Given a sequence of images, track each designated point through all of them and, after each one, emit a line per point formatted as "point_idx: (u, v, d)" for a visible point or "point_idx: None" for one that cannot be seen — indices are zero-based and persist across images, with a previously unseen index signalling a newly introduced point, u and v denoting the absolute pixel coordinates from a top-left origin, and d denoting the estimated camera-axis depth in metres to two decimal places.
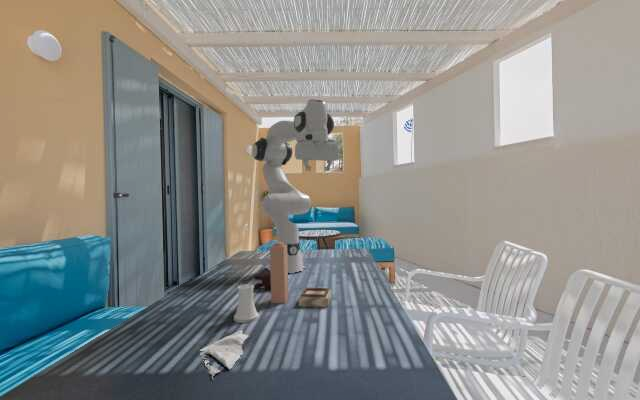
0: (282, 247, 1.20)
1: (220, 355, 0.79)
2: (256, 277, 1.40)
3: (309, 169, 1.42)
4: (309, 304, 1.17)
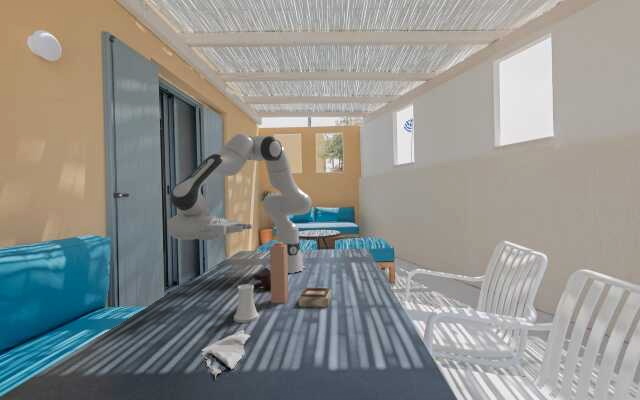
0: (282, 247, 1.20)
1: (222, 355, 0.79)
2: (255, 277, 1.40)
3: (249, 228, 1.29)
4: (309, 304, 1.17)
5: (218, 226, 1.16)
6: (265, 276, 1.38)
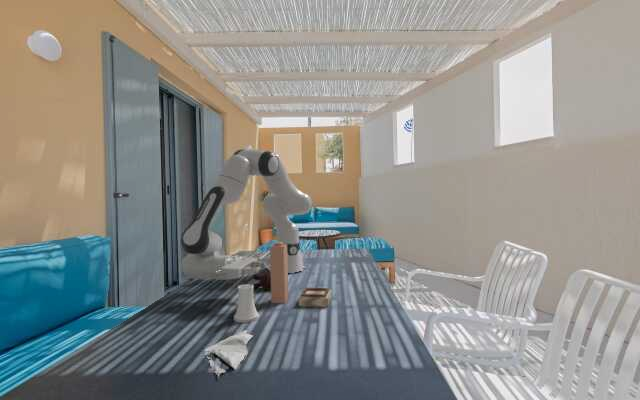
0: (282, 247, 1.20)
1: (225, 355, 0.79)
2: (254, 277, 1.40)
3: (263, 267, 1.29)
4: (309, 304, 1.17)
5: (233, 269, 1.15)
6: (264, 276, 1.38)
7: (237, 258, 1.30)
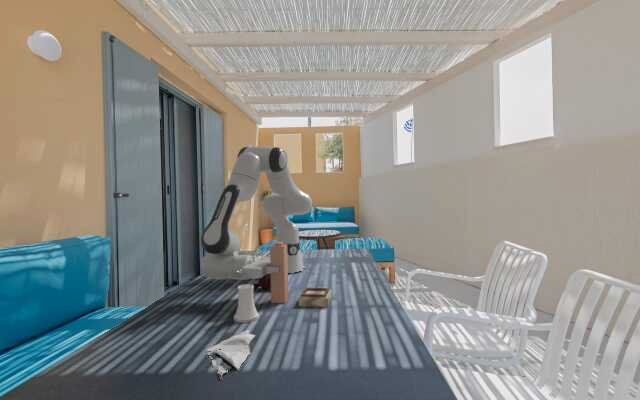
0: (282, 247, 1.20)
1: (228, 355, 0.79)
2: None
3: None
4: (309, 304, 1.17)
5: (255, 269, 1.14)
6: (263, 276, 1.38)
7: (256, 258, 1.29)
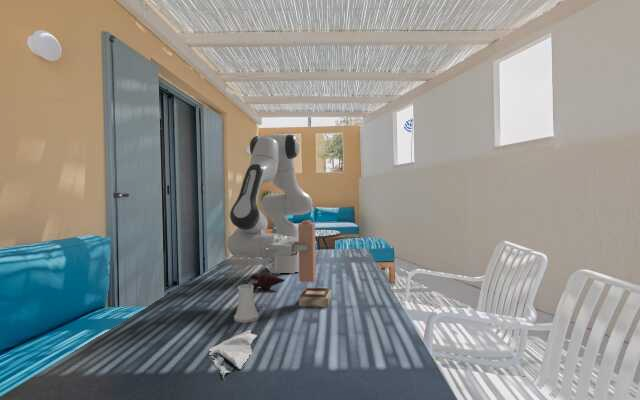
0: (311, 225, 1.18)
1: (230, 355, 0.79)
2: (252, 277, 1.41)
3: None
4: (309, 304, 1.17)
5: (285, 246, 1.12)
6: (262, 276, 1.38)
7: (283, 237, 1.27)
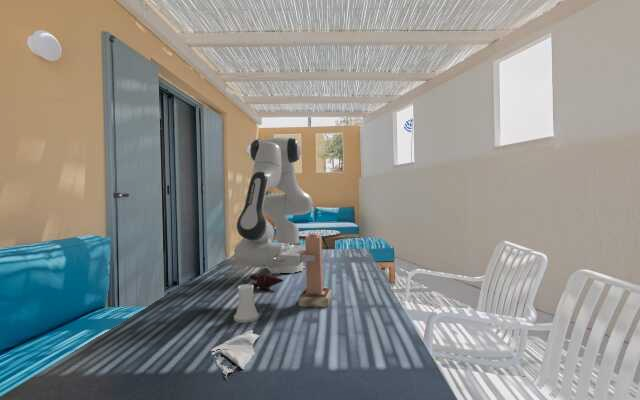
0: (318, 238, 1.18)
1: (232, 355, 0.79)
2: (251, 277, 1.41)
3: None
4: (309, 304, 1.17)
5: (293, 256, 1.12)
6: (261, 276, 1.38)
7: (290, 246, 1.27)
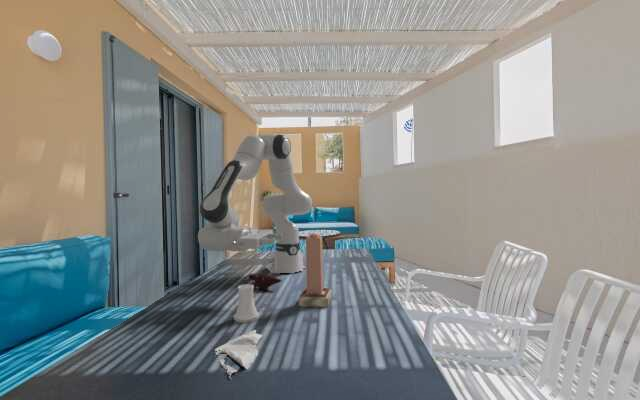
0: (318, 238, 1.18)
1: (236, 354, 0.79)
2: (250, 277, 1.41)
3: None
4: (309, 304, 1.17)
5: (251, 239, 1.14)
6: (259, 276, 1.38)
7: (253, 230, 1.29)
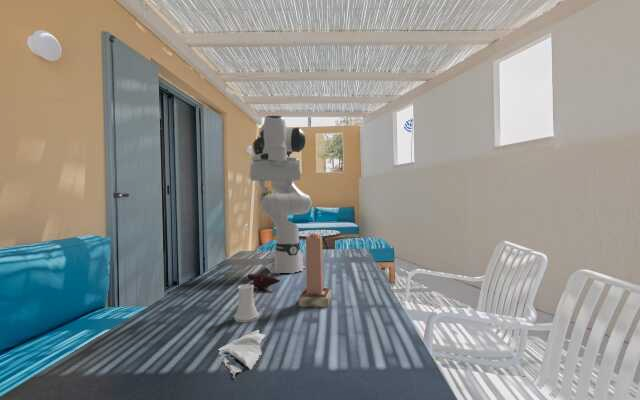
0: (318, 238, 1.18)
1: (239, 354, 0.79)
2: (249, 277, 1.41)
3: (266, 191, 1.30)
4: (309, 304, 1.17)
5: None
6: (257, 276, 1.38)
7: None
